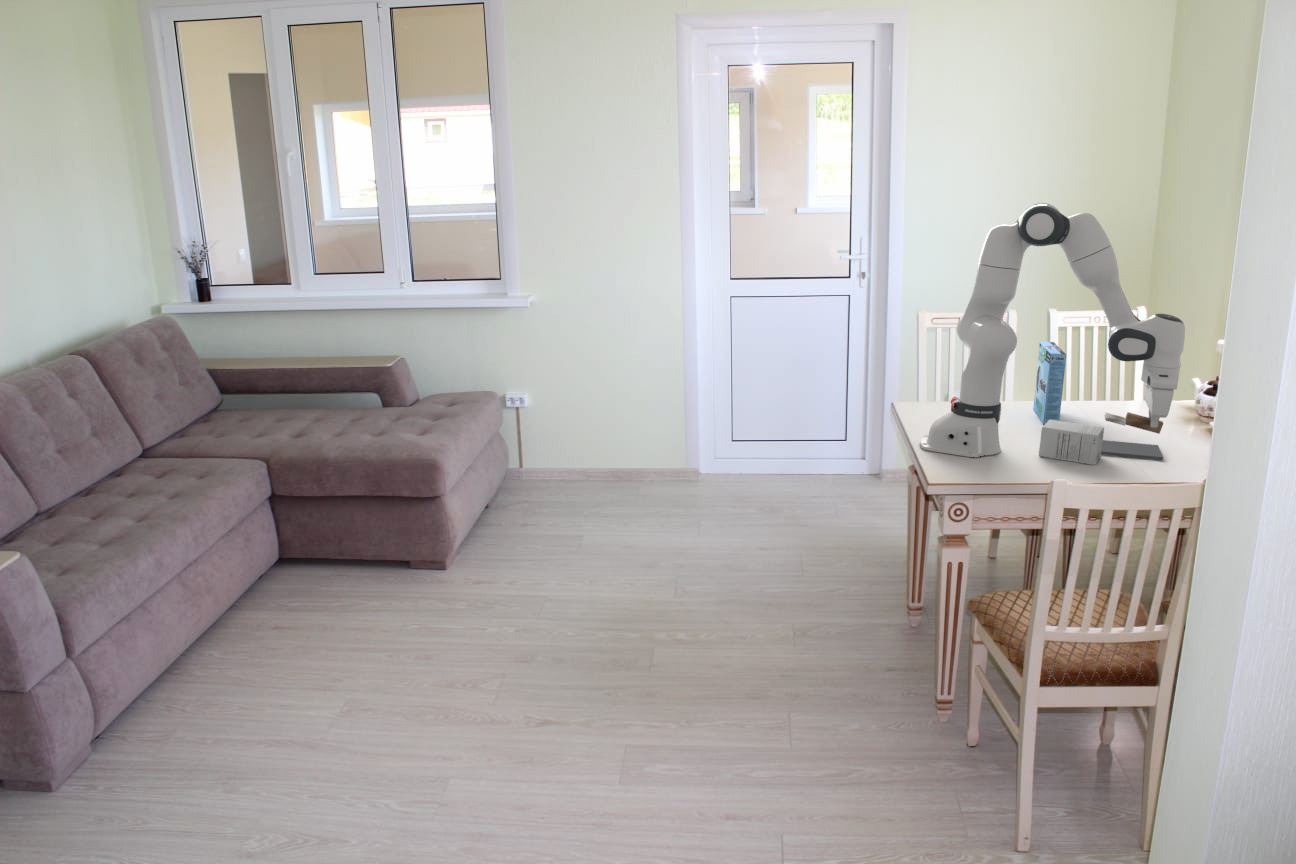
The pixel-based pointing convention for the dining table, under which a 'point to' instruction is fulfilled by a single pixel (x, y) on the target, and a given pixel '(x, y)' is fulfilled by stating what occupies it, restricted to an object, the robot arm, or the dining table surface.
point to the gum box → (1049, 382)
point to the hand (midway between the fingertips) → (1152, 425)
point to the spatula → (1134, 421)
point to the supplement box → (1071, 441)
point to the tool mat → (1131, 450)
